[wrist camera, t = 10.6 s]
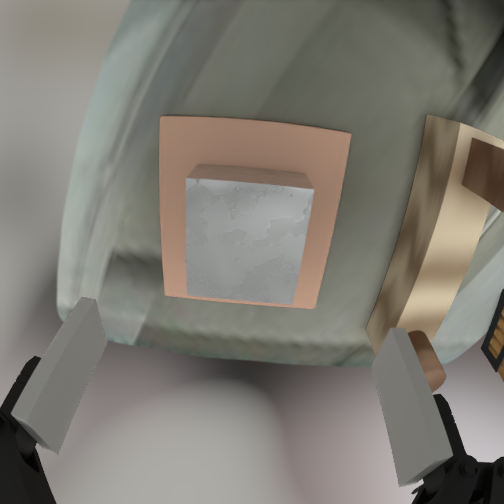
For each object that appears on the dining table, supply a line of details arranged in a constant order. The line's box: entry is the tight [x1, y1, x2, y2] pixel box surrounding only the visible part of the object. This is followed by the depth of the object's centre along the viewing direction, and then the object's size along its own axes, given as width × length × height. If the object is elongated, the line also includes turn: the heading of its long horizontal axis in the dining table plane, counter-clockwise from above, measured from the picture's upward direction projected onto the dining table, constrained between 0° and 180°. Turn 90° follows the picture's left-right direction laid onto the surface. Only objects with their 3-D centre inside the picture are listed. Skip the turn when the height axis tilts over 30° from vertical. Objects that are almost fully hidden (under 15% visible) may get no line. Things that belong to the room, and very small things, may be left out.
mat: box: [159, 116, 351, 309], centre depth 25 cm, size 16×14×1 cm
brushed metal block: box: [185, 164, 314, 305], centre depth 23 cm, size 9×8×4 cm
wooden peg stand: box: [366, 115, 504, 392], centre depth 21 cm, size 22×5×10 cm, turn 175°
